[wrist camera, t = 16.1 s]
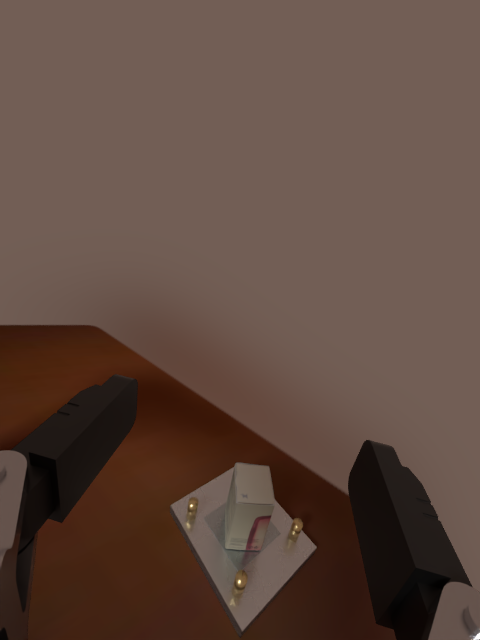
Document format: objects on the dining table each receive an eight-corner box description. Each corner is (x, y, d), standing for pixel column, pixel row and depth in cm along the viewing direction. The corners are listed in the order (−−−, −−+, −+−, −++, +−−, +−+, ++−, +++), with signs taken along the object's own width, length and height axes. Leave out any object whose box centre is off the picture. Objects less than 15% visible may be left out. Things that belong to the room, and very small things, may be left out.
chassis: (169, 511, 36) (172, 491, 34) (240, 467, 43) (244, 450, 42) (240, 637, 26) (247, 617, 25) (314, 553, 34) (322, 534, 33)
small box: (261, 552, 32) (276, 506, 29) (224, 549, 32) (235, 503, 29) (257, 508, 37) (270, 464, 34) (224, 505, 36) (234, 461, 33)
